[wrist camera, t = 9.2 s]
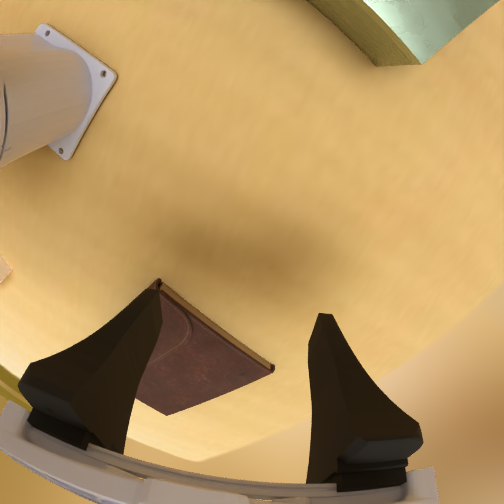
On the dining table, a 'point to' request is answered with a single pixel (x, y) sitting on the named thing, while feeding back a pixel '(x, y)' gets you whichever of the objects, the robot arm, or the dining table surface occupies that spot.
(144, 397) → the notebook
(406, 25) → the green tissue box
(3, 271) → the napkin holder
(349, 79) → the dining table surface
